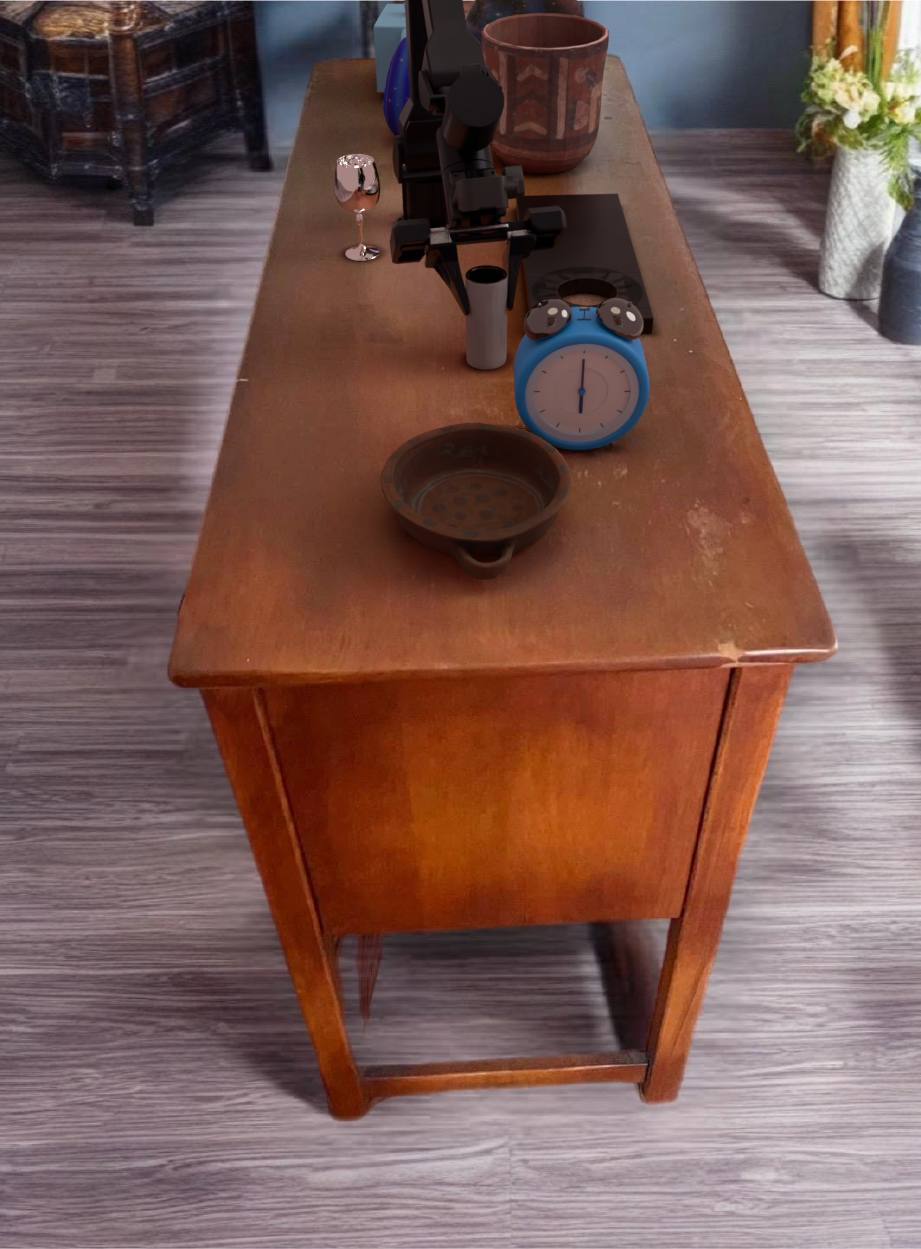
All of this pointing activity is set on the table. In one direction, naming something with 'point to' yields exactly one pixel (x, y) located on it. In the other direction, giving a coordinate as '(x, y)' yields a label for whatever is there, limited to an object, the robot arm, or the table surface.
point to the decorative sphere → (514, 11)
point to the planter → (486, 316)
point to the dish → (476, 491)
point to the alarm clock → (581, 373)
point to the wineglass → (357, 195)
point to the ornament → (396, 87)
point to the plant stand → (586, 254)
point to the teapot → (388, 39)
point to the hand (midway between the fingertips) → (488, 312)
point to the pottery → (547, 88)
